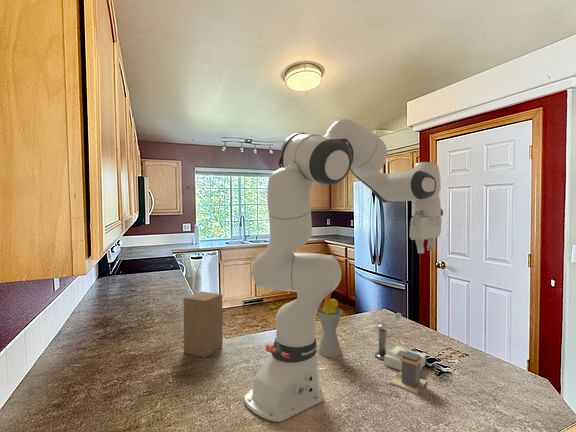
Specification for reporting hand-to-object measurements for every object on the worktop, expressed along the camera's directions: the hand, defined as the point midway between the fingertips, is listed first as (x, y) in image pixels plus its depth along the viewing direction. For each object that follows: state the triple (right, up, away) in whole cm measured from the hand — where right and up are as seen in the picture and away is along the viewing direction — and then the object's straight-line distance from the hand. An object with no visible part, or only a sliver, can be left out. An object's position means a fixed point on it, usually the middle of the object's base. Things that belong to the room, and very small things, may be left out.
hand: (425, 251), depth 105 cm
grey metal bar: (-10, -27, +7) cm, 30 cm away
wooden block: (-78, -37, +9) cm, 87 cm away
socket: (-8, -37, -2) cm, 38 cm away
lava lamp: (-32, -37, +7) cm, 49 cm away
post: (-14, -37, +3) cm, 40 cm away
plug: (-10, -37, -14) cm, 41 cm away
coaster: (-11, -37, -13) cm, 41 cm away
